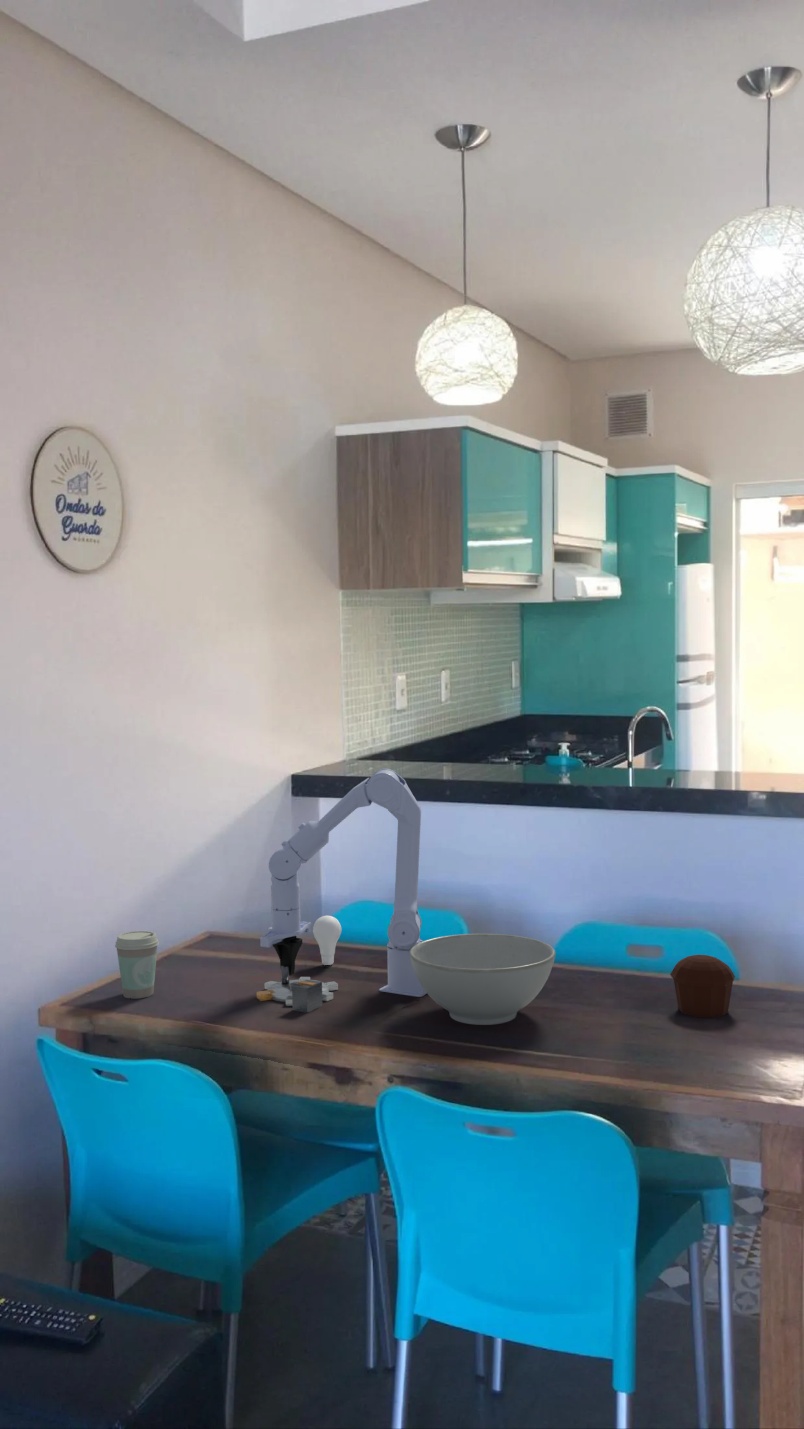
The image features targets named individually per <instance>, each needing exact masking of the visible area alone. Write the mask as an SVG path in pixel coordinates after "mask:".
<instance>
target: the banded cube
mask: <svg viewBox="0 0 804 1429" xmlns="http://www.w3.org/2000/svg"><path fill="white" fill-rule="evenodd" d="M313 980H314V979H310V980H305V981H300V982H298V984H296V985H293V986H292V1007H291V1008H292V1011H294V1012H299V1013H305V1014H308V1013H310V1012H313V1011H315V1010H317V1009H319V1008H321V1007H323V1000H322V982H323V981H321V980H316V981H313ZM320 981H321V982H320Z"/></svg>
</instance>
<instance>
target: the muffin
mask: <svg viewBox="0 0 804 1429" xmlns="http://www.w3.org/2000/svg"><path fill="white" fill-rule="evenodd" d="M669 975H670V976H671V978H672V979H673V983H674V984H673V985H674V991H675V996H676V1002H677V1008H678V1010H679V1011H680V1012H681V1013H682V1014H684V1015H687V1016H688V1015H689V1016H691V1017H695V1018H696V1017H697V1018H698V1017H699V1016H700V1017H699V1018H711V1019H712V1018H716V1017H715V1016H717V1017H723V1016H724V1015H726V1014H728V1013H729V1010H730V1003H731V996H732V989H733V983H734V981H735V979H736V975H735V974H734V972H733V970H732V968H731V967H730V966H729V965H728V964H727V963H726V962H724V961H722V960H721V959H720V958H718V957H715V956H712V955H708V954H693V955H689V956H686V957H684V958H682V959H680V960H678V962H677V963H676V964H674V967H673V969H672V970H671V972H670V974H669Z"/></svg>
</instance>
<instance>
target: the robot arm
mask: <svg viewBox="0 0 804 1429" xmlns="http://www.w3.org/2000/svg"><path fill="white" fill-rule="evenodd" d="M372 803H374V804H376V805H378V806H380V807H382V808H384V809H386V810H387V811H388V812H389V813H390V814H391V815H392V816H393V817H394V818H395V819H396V820H397V837H396V838H397V839H396V840H397V841H396V862H395V882H394V883H395V884H394V902H393V903H394V904H393V914H392V915H391V918H390V924H389V925H388V928H387V937H388V939H389V941H388V942H387V943H386V948H387V949H386V951H387V952H386V953H387V954H386V955H387V958H386V960H387V985H384V986H383V987H381V988H379V989H378V990H379V992H383V993H384V992H385V993H390V994H397V995H404V996H410V997H417V998H418V997H419V998H420V997H424V996H425V995H428V994H427V992H426V991H425V990H424V988H423V987H422V985H421V983H420V982H419V980H418V978H417V976H416V974H415V971H414V969H413V966H412V963H411V959H410V950H411V948H412V947H413V946H415V945H416V944H418V943H421V942H423V941H424V940H422V939H421V938H420V935H421V928H422V918H421V916H420V913H419V910H418V900H419V899H418V895H419V894H418V890H419V889H418V888H419V887H418V886H419V869H420V868H419V867H420V849H421V848H420V846H421V824H422V823H421V822H422V809H421V806H420V804H419V802H418V800H417V799H416V797H415V796H414V795H413V792H412V791H411V789H410V787H409V786H408V784H407V781H406V779H404V778H403V777H402V776H400V775H399V773H397V772H396V771H394V770H392V769H390V768H381V769H378V770H376V771H375V772H374V773H373V774H372V775H371V777H367V778H366V779H364V780H363V781H361V782H360V783H358V784H357V785H356V786H353V788H352V789H350V790H349V791H348V792H347V793H346V794H345V795H344V796H343V797H342V798H341V799H340V800H339V801H338V802H337V803H336V804H335V805H334V806H333V807H332V808H331V809H330V810H329V811H328V812H327V813H326V814H325V815H323V817H321V819H320V820H309V821H307V822H306V823H305V822H302V823H301V824H300V825H299V826H297V827H298V831H297V832H295V833H294V834H293V835H292V836H291V837H290V838H289V839H288V840H286V839H285V840H283V841H282V843H281V844H280V845H281V846H282V847H279V848H277V849H276V850H275V852H274V853H273V854H272V855H271V857H270V858H269V861H268V870H269V872H270V875H271V877H270V878H271V879H270V880H271V886H270V892H271V893H270V898H271V900H270V901H271V902H270V903H271V926H270V927H268V928H267V929H268V930H267V932H266V933H265V934H264V935H262V936H260V937H259V938H260V942H259V943H260V947H261V948H262V947H263V948H268V949H269V948H271V947H273V948H274V950H275V951H276V954H277V955H278V958H279V965H280V967H281V966H282V965H288V966H289V977H291V976H293V975H294V974H295V971H296V970H295V969H296V968H295V967H296V959H297V956H298V953H299V950H300V949H301V947H302V945H303V938H300V937H297V936H300V935H302V934H305V933H311V932H312V922H310V921H304V920H303V921H301V895H300V893H301V891H300V890H301V889H300V887H301V886H300V881H299V880H300V879H299V877H300V876H299V871H298V870H300V868H301V866H302V864H306V863H308V861H310V860H311V859H312V858H313V857H314V856H315V855H316V854H317V853H318V852H319V851H320V850H321V849H323V848H324V847H325V846H326V845H327V844H329V839H330V838H329V837H330V836H329V835H330V832H331V831H332V830H333V829H334V828H336V827H337V826H338V825H339V824H340V823H342V822H344V820H345V819H347V818H348V817H349V816H350V815H351V814H353V812H355V811H356V810H357V809H358V808H363V807H369V806H371V805H372Z"/></svg>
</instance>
